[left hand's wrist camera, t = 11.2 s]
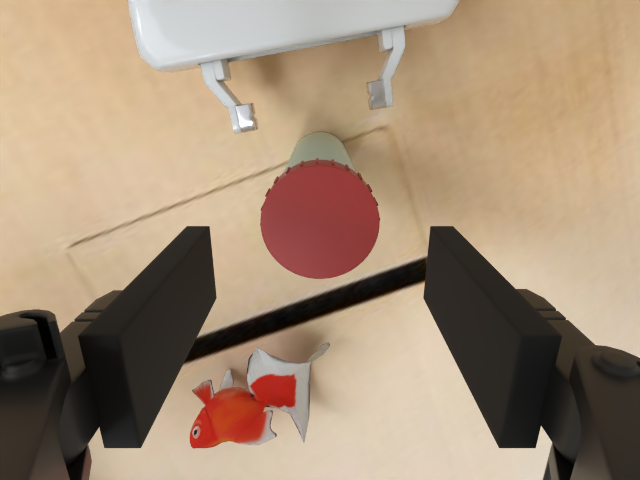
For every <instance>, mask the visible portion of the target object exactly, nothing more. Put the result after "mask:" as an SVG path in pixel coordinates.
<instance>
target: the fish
mask: <svg viewBox="0 0 640 480" xmlns="http://www.w3.org/2000/svg"><path fill="white" fill-rule="evenodd" d="M329 346H330V344H329V342H328V343H325V344H323V345H321V346H320V347H319V348H318V349H317V351H316V352H315V353H314V354H313V355H312V356H311V357H310V358H309V360H308V361H307V362H306V363H293V362H289V361H285V360H281V359H279V358H276V357H274V356H272V355H269V354H267V353H266V352H264V351H262V350H260V349H259V348H256V350H255V351H254V352H253V354H252V355H251V356H250V358H249V362H248V369H247V382H248V386H249V387H248V388H247V389H246V390H244V389H242V388H238V387H232V386H233V384H234V379H233V376H232V373H231V370H230V369H229V370H227V372H226V374H225V376H224V379H223V381H222V384H221V386H220V390H219V391H218V392H217V393H216V394H215V395H214V391H213V387H212V381H211V380H208V381H205V382H203V383H201V384H200V385H199V386H198V387H197V388H196V389H194V390H192V391H193V393H194V394H196V395H197V396H198V397H199V398H200V399H201V401H202V402H203V403H204V404H205V405H206V406H205V407H204V408H202V410H201V412H200V413H199V415H198V417H197V418H196V420H195V422H194V424H193V426H192V429H191V432H190V444H191V447H192V448H210V447H214V446H216V445H218V444H220V443H222V442H226V441H233V442H236V443H239V444H244V445H259V444H262V443H264V442H267V441H269V440H271V439H273V438H274V437H276V436H277V435H276V433H274V432H273V431H272V430H271V427H270V423H271V419H272V414H273V412H272V411H266V412H263V411H264V408H265V407H275V408H279V409H281V410H282V411H285V412H287V413H290V415H291V417H292V419H293V421H294V423H295V424H296V426H297V428H298V430H299V433H300V435H301V437H302V440H303V442H304V441H305V436H306V430H307V425H308V420H309V403H310V368H311V361H313V360H314V359H316V358H318V357H319V356H321V355H323V354H324V352H325V351H326V350H327V349H328V347H329Z"/></svg>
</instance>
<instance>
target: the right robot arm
mask: <svg viewBox="0 0 640 480" xmlns="http://www.w3.org/2000/svg"><path fill="white" fill-rule="evenodd" d="M459 1H460V0H128V6H129V12H130V18H131V23H132V27H133V32H134V36H135V41H136V45H137V48H138V52H139V54H140V56H141V58H142V59H143V60H144V61H145V62H146V63H147V64H149V65H150V66H151V67H152V68H154V69H155V70H157V71H161V72H168V73H174V72H180V71H186V70H191V69H196V68H201V70H202V74H203V78H204V82H205V84H206V85H207V86H208V87H209V88H210V90H211V91H212V92H213V93H214V94H215V95H216V96H217V98H218V99H219V100H220V101H221V102H222V103H223V104H224V106H225V107H228V110H229V114H230V118H231V123H232V127H233V130H234V132H235V134H237V133H243V132H248V131H253V130H256V129H258V123H257V119H256V118H255V117H254V115H255V109H254V104H253V103H250V104H244V105H242V104H241V102H240V101H239V100H238V99H237V98H236V96H235V95H234V94H233V93H232V91H231V90H230V89H229V88H228V87H227V85H226V84H225V83H224V81H228V80H231V74H230V69H229V65H228V63H229V62H234V61H239V60H245V59H250V58H256V57H261V56H266V55H272V54H277V53H283V52H288V51H293V50H299V49H304V48H310V47H315V46H320V45H326V44H331V43H337V42H342V41H347V40H353V39H358V38H364V37H369V36H374V35H377V36H378V44H379V51H380V52H386V51H388V54H387V56H386V59H385V62H384V64H383V67H382V69H381V72H380V75H379V77H378V81H373V82H368V83H366V86H367V93H368V94H369V95H370V97H369V99H368V103H369V108H370V109H371V110H373V109H379V108H385V107H391V106H393V93H392V83H391V78H393V76H394V73H395V71H396V69H397V66H398V64H399V61H400V59H401V56H402V54H403V52H404V49H405V47H406V45H405V32H404V30H407V29H412V28H417V27H423V26H428V25H433V24H437V23H440V22H441V21H443V20H445V19H447V18H448V17H449V16H451V14H452V13H453V11H454V10H455V8H456V6H457V5H458V3H459Z"/></svg>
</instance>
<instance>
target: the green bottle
mask: <svg viewBox="0 0 640 480" xmlns="http://www.w3.org/2000/svg"><path fill="white" fill-rule="evenodd" d="M316 158H319V160H330V161H331V160H332V159H334V161H335V162H338V163H341V164H343V165H346V164H347V165H348V166H349V168H350V169H352V170H353V171H355V168H354V166H353V164H352V162H351V160H350V158H349V155H348V153H347V151H346V149H345V147H344V145H343V144H342V142H341V141H340V140H339V139H338V138H337V137H335V136H334V135H332V134H329V133H326V132H314V133H311V134H308V135H306V136H305V137H303V138H302V139H301V140H300V141H299V142H298V144H297V145H296V147H295V149H294V151H293V153H292V155H291V158H290V160H289V162H288V164H287V166H286V168H285V171H286V170H287V168H288V167H290V168H291V167H293V166H295V165H297V164H299V163H301V161H304V162H305V161H309V160H316ZM285 171H284V172H285ZM355 172H356V171H355Z"/></svg>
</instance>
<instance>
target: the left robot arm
mask: <svg viewBox="0 0 640 480" xmlns="http://www.w3.org/2000/svg"><path fill="white" fill-rule="evenodd" d="M215 300H216V288H215V278H214V268H213V258H212V248H211V237H210V227H209V226H187V227H186V228H185V229H184V230H183V231H182V232H181V233H180V234H179V235H178V236H177V237H176V238H175V239H174V240H173V241H172V242H171V243H170V244H169V245H168V246H167V247H166V248H165V249H164V250H163V251H162V252H161V253H160V254H159V255H158V256H157V257H156V258H155V259H154V260H153V261H152V262H151V263H150V264H149V265H148V266H147V267H146V268H145V269H144V270H143V271H142V272H141V273H140V274H139V275H138V276H137V277H136V278H135V279H134V280H133V281H132V282H131V283H130V284H129V285H128V286H127V287H126V288H125V289H124V290H123V291H112V292H110V293H108V294H106V295H104V296H102V297H100V298H98V299H96V300H95V301H94V302H93V303H92V304H91V305H90V306H89V307H88V308H87V309H85V310H84V311H85V312H84V313H81V314H80V315H79V316H78V317H77V318H76V319H75V322H71V323H70V324H69V325H68V326H67V327H66V328H65V329H64V330H63V331H62V332H61V333H60V332H59V328H58V325H57V321H56V317H55V314H53V313H51V312H50V311H46V310H25V311H19V312H15V313H11V314H6V315H3V316H1V317H0V480H89V475H90V469H91V462H92V461H91V454H90V450H89V446H88V443H89V441H90V440H91V438H92V437H93V435H94V434H95V432H96V431H97V429H98V428H99V427H100V431H101V435H102V440H103V444H104V448H141V447H142V445H143V443H144V441H145V439H146V437H147V435H148V433H149V431H150V429H151V427H152V425H153V423H154V421H155V419H156V417H157V415H158V413H159V411H160V409H161V407H162V405H163V403H164V401H165V399H166V397H167V395H168V393H169V391H170V389H171V387H172V385H173V383H174V381H175V379H176V377H177V375H178V373H179V371H180V369H181V367H182V365H183V363H184V361H185V359H186V357H187V355H188V353H189V351H190V350H191V348H192V346H193V344H194V342H195V340H196V338H197V336H198V334H199V332H200V330H201V328H202V326H203V324H204V322H205V320H206V318H207V316H208V314H209V312H210V310H211V308H212V306H213V304H214V302H215ZM424 300H425V302H426V304H427V306H428V308H429V310H430V312H431V314H432V316H433V318H434V320H435V322H436V324H437V326H438V328H439V330H440V332H441V334H442V336H443V338H444V340H445V342H446V344H447V346H448V348H449V350H450V351H451V353H452V355H453V357H454V359H455V361H456V363H457V365H458V367H459V369H460V371H461V373H462V375H463V377H464V379H465V381H466V383H467V385H468V387H469V389H470V391H471V393H472V395H473V397H474V399H475V401H476V403H477V405H478V407H479V409H480V411H481V413H482V415H483V417H484V419H485V421H486V423H487V425H488V427H489V429H490V431H491V433H492V435H493V437H494V439H495V441H496V443H497V445H498V447H499V448H536V444H537V440H538V435H539V431H540V427H541V426H542V427H543V429H544V430H545V432H546V433H547V435H548V436H549V438H550V439H551V441H552V446H551V450H550V453H549V457H548V461H547V465H546V469H545V473H544V477H543V480H640V358H638V357H636V356H634V355H632V354H629V353H627V352H625V351H622V350H619V349H615V348H611V347H607V346H598V345H595V344H594V343H592V342H591V341H590V340H589V339H588V338H587V337H586V336H585V335H584V334H583V333H582V332H580V331H579V330H578V329H577V328H576V327H575V326H574V325H573V324H572V323H571V322H570V321H568V320H566V318H565V317H564V316H563V315H562V314H561V313H560V312H559V311H556V309H555V308H554V307H553V306H552V305H551V304H550V303H549V302H548V301H547V300H546V299H544V298H543V297H541V296H539V295H537V294H535V293H533V292H531V291H529V290H527V289H515V288H514V287H513V286H512V285H511V284H510V283H509V282H508V281H507V280H506V279H505V278H504V277H503V276H502V275H501V274H500V273H499V272H498V271H497V270H496V269H495V268H494V267H493V266H492V265H491V264H490V263H489V262H488V261H487V260H486V259H485V258H484V257H483V256H482V255H481V254H480V253H479V252H478V251H477V250H476V249H475V248H474V247H473V246H472V245H471V244H470V243H469V242H468V241H467V240H466V239H465V238H464V237H463V236H462V235H461V234H460V233H459V232H458V231H457V230H456V229H455V228H454V227H453V226H431V227H430V237H429V248H428V258H427V268H426V278H425V288H424Z"/></svg>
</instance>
